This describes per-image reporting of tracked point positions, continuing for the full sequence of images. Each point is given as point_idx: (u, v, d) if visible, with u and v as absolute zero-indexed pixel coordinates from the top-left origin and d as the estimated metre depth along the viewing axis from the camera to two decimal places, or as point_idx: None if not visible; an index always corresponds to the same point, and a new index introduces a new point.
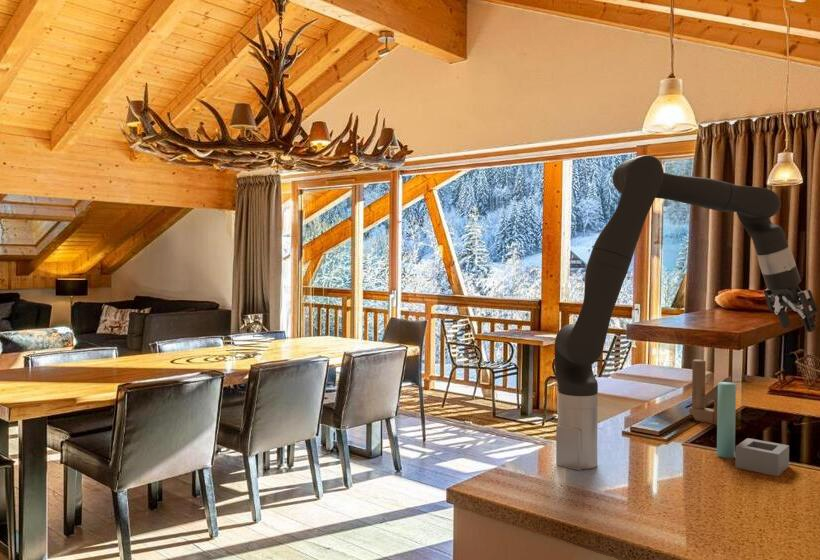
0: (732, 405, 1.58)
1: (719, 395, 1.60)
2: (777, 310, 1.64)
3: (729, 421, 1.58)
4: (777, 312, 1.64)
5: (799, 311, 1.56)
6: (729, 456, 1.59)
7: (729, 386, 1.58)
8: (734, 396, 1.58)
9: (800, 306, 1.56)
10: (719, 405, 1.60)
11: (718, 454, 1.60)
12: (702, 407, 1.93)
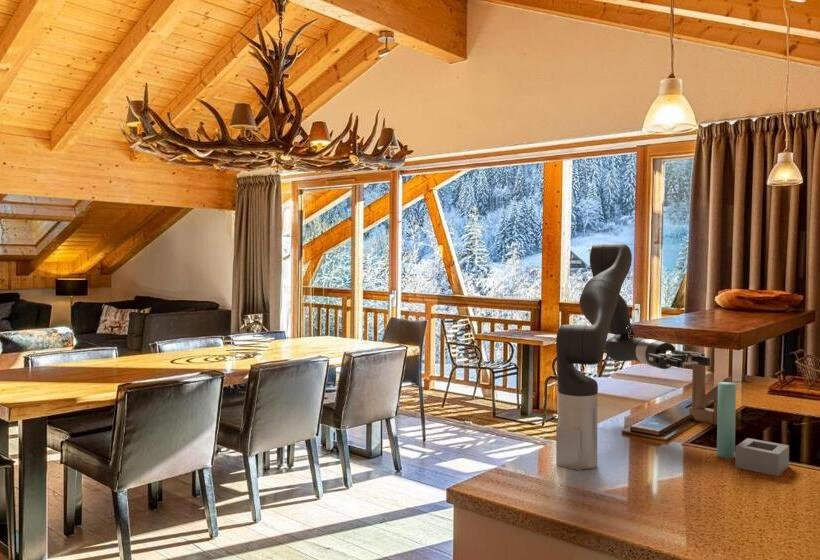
0: (732, 405, 1.58)
1: (719, 395, 1.60)
2: (670, 356, 1.74)
3: (729, 421, 1.58)
4: (670, 356, 1.73)
5: (693, 354, 1.77)
6: (729, 456, 1.59)
7: (729, 386, 1.58)
8: (734, 396, 1.58)
9: None
10: (719, 405, 1.60)
11: (718, 454, 1.60)
12: (702, 407, 1.93)
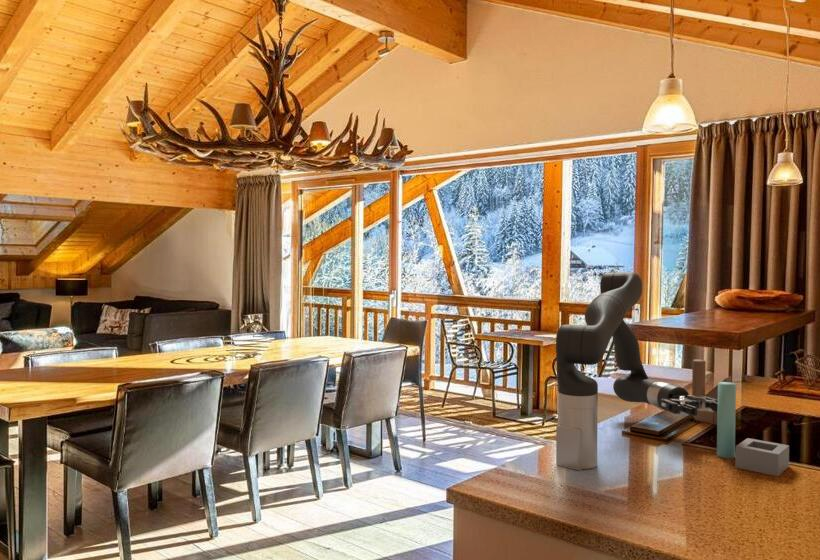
0: (732, 405, 1.58)
1: (719, 395, 1.60)
2: (683, 402, 1.69)
3: (729, 421, 1.58)
4: (684, 403, 1.69)
5: (707, 400, 1.72)
6: (729, 456, 1.59)
7: (729, 386, 1.58)
8: (734, 396, 1.58)
9: None
10: (719, 405, 1.60)
11: (718, 454, 1.60)
12: None
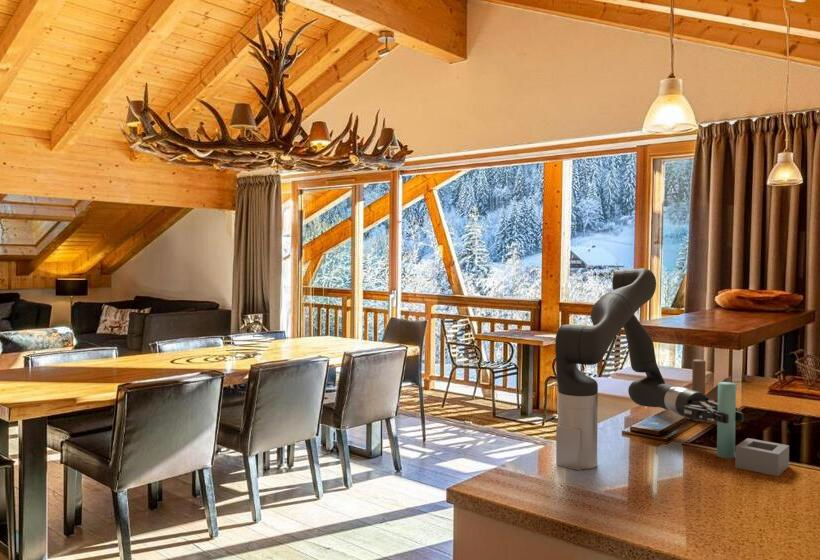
0: (732, 405, 1.58)
1: (719, 395, 1.60)
2: (713, 409, 1.62)
3: (729, 421, 1.58)
4: (714, 410, 1.61)
5: None
6: (729, 456, 1.59)
7: (729, 386, 1.58)
8: (734, 396, 1.58)
9: None
10: (719, 405, 1.60)
11: (718, 454, 1.60)
12: None
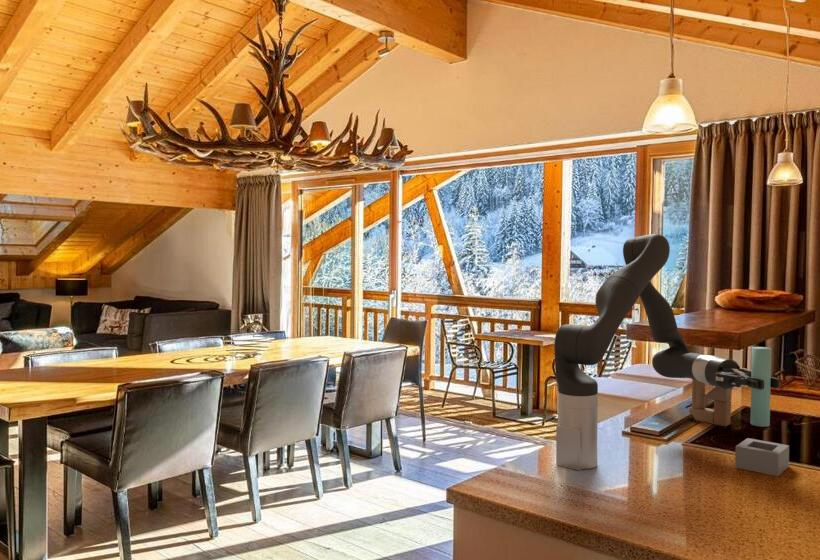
0: (767, 370, 1.50)
1: (753, 360, 1.52)
2: (747, 375, 1.54)
3: (765, 387, 1.50)
4: (748, 376, 1.53)
5: None
6: (764, 424, 1.51)
7: (764, 350, 1.50)
8: (769, 361, 1.50)
9: None
10: (753, 371, 1.52)
11: (752, 422, 1.52)
12: (702, 407, 1.93)
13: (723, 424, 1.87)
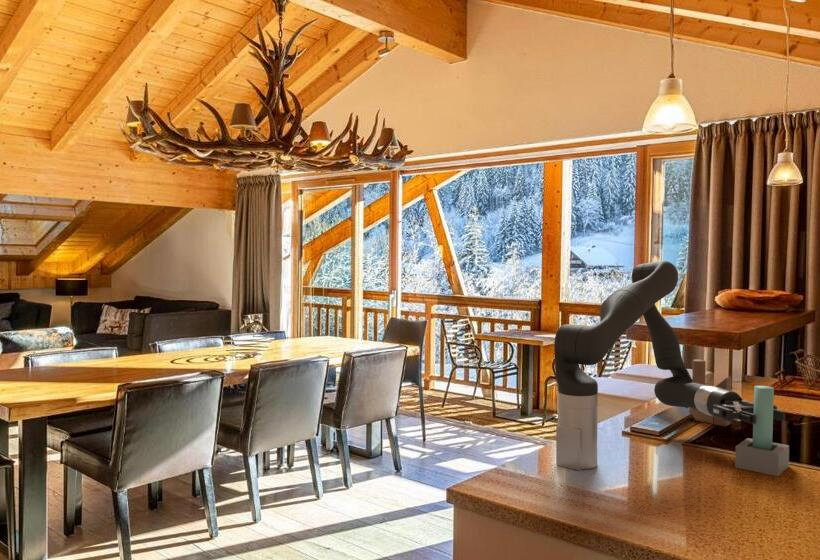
0: (770, 410, 1.50)
1: (756, 400, 1.51)
2: (739, 409, 1.54)
3: (767, 427, 1.50)
4: (740, 410, 1.53)
5: None
6: None
7: (767, 390, 1.49)
8: (772, 401, 1.50)
9: None
10: (755, 410, 1.51)
11: None
12: None
13: (723, 424, 1.87)
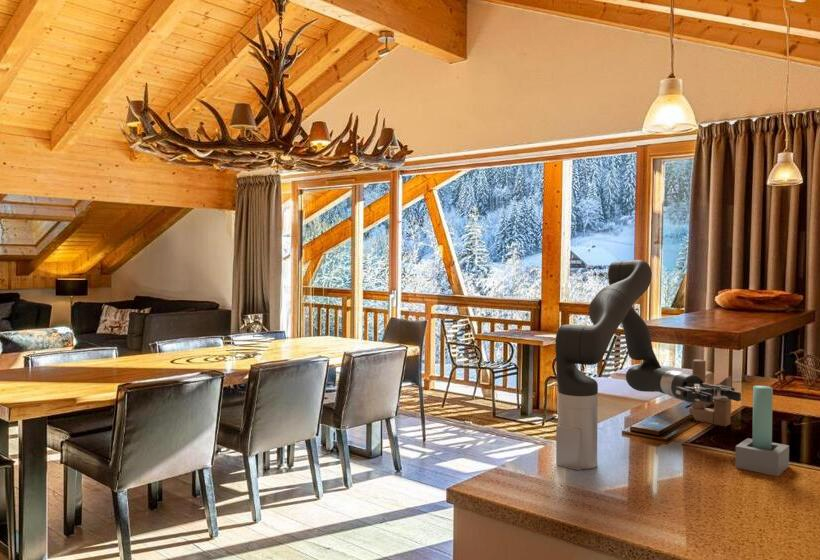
0: (769, 410, 1.50)
1: (755, 399, 1.51)
2: (698, 390, 1.66)
3: (766, 427, 1.50)
4: (699, 390, 1.66)
5: (723, 388, 1.69)
6: None
7: (766, 390, 1.50)
8: (771, 400, 1.50)
9: None
10: (754, 410, 1.52)
11: None
12: (702, 407, 1.93)
13: (723, 424, 1.87)
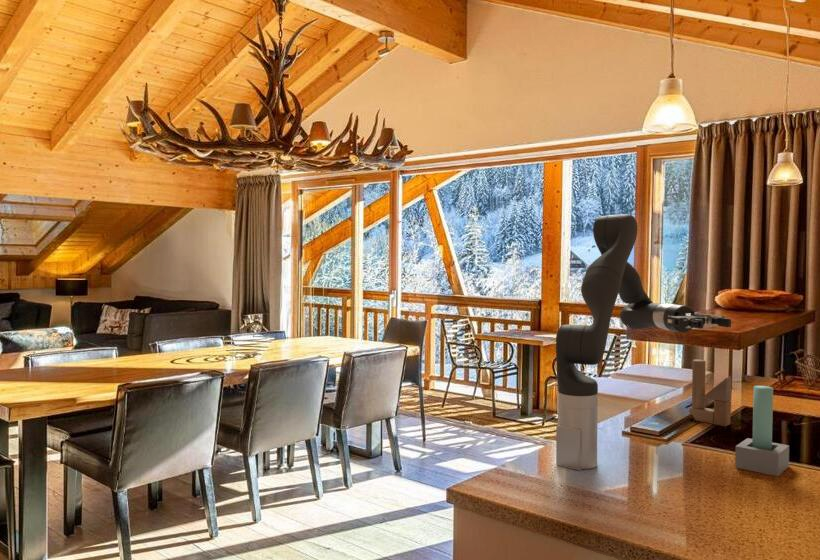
0: (769, 410, 1.50)
1: (755, 399, 1.51)
2: (689, 317, 1.70)
3: (766, 427, 1.50)
4: (690, 318, 1.69)
5: (713, 316, 1.72)
6: None
7: (766, 390, 1.50)
8: (771, 401, 1.50)
9: None
10: (754, 410, 1.51)
11: None
12: (702, 407, 1.93)
13: (723, 424, 1.87)
